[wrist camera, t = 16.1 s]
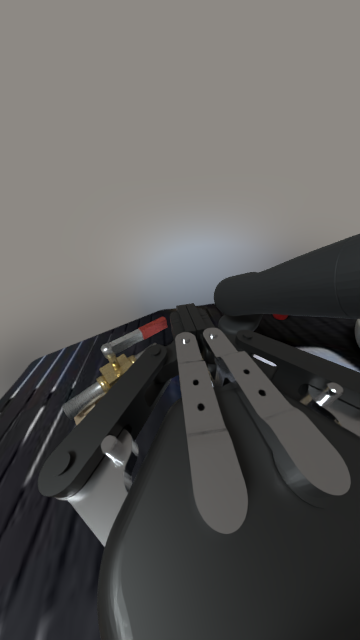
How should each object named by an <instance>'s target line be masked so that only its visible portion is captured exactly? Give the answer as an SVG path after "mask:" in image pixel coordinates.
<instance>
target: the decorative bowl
mask: <svg viewBox="0 0 360 640" xmlns="http://www.w3.org/2000/svg"><path fill="white" fill-rule="evenodd" d="M355 338H356V341H357V344H358V346H359V348H360V319H357V322H356V325H355Z"/></svg>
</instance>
